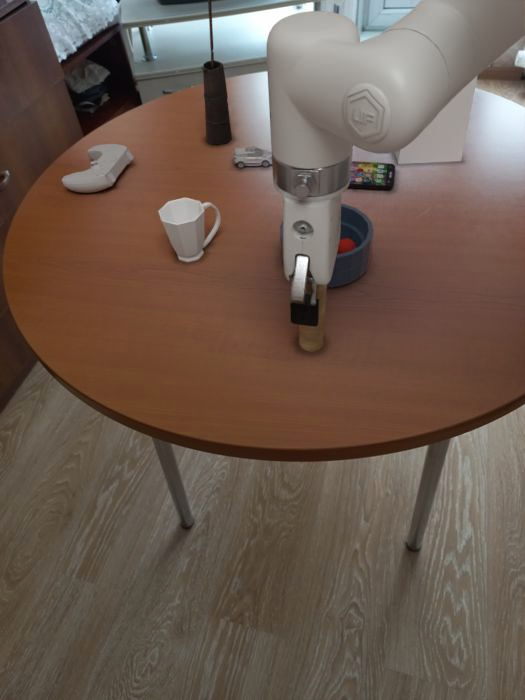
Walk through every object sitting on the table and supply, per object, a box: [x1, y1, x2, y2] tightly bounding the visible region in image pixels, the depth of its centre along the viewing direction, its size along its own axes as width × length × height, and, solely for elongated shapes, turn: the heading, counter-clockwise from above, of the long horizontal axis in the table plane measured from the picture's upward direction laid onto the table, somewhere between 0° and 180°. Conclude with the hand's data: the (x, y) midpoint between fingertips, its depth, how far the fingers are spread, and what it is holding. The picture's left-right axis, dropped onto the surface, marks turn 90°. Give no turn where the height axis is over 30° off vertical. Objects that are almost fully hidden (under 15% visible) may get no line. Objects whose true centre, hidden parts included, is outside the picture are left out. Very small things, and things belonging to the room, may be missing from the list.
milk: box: [394, 76, 478, 165], centre depth 90 cm, size 12×12×26 cm
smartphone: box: [347, 160, 396, 191], centre depth 93 cm, size 8×1×15 cm
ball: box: [337, 238, 356, 254], centre depth 78 cm, size 3×3×3 cm
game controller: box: [61, 143, 135, 194], centre depth 98 cm, size 14×4×10 cm
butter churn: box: [200, 0, 233, 146], centre depth 95 cm, size 9×10×28 cm
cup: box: [157, 197, 222, 263], centre depth 80 cm, size 7×10×8 cm
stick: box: [298, 270, 328, 352], centre depth 64 cm, size 3×3×13 cm
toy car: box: [233, 146, 272, 169], centre depth 98 cm, size 4×8×3 cm, turn 88°
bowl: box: [279, 203, 375, 288], centre depth 77 cm, size 13×13×6 cm
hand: (310, 300), depth 63 cm, fingers open, 7 cm apart
